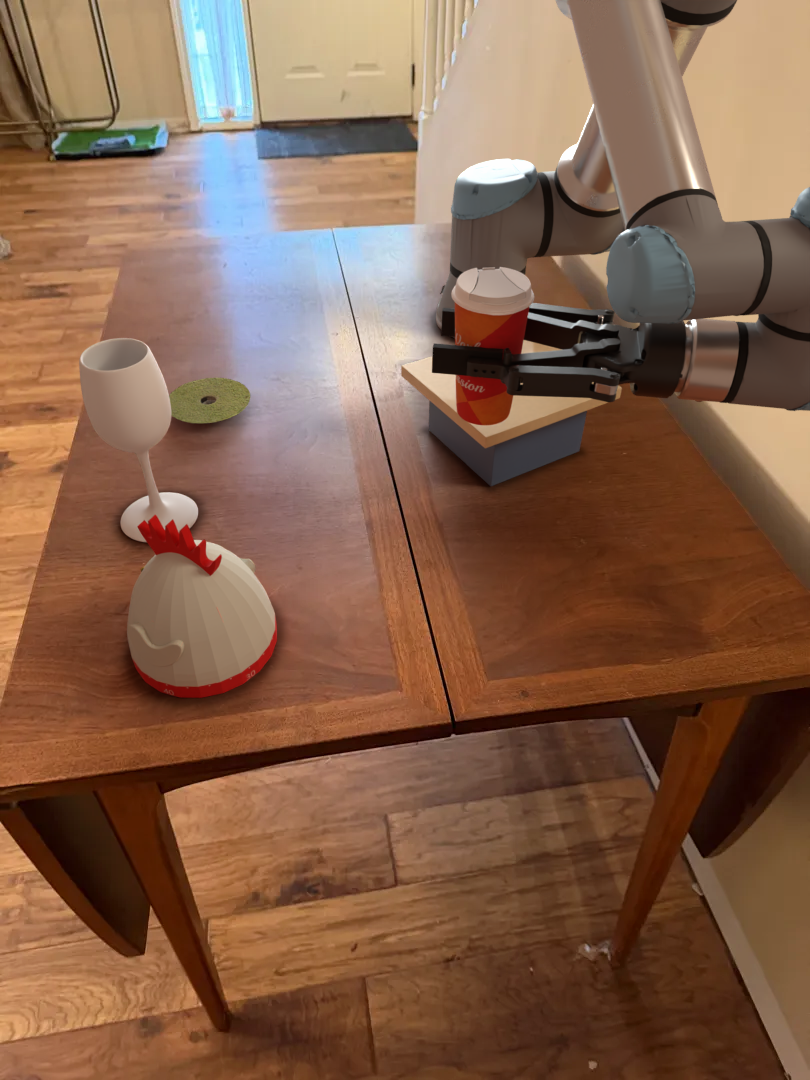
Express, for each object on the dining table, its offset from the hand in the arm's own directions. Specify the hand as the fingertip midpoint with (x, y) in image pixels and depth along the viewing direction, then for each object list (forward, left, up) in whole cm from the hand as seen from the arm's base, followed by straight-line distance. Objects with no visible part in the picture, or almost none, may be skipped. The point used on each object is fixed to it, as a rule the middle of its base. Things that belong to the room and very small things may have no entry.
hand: (438, 339), depth 76 cm
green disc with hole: (+15, -33, -22) cm, 42 cm away
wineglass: (+28, -15, -22) cm, 38 cm away
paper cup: (-4, +3, -8) cm, 9 cm away
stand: (-15, -7, -22) cm, 27 cm away
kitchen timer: (+30, +5, -22) cm, 37 cm away
